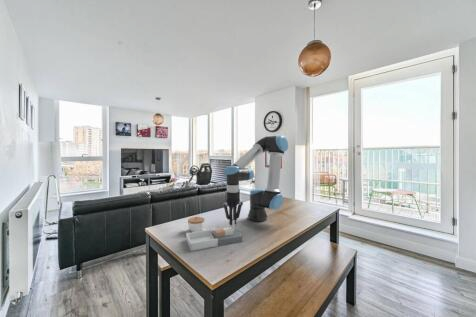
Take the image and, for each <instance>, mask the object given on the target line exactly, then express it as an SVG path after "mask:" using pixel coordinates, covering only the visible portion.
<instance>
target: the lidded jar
mask: <svg viewBox="0 0 476 317" xmlns="http://www.w3.org/2000/svg"><path fill="white" fill-rule="evenodd" d="M187 224H188V228H189V230H190V231H191V232H198V231H203V228H204V226H205V217H202V216H193V217H190V218H187Z"/></svg>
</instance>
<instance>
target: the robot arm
mask: <svg viewBox="0 0 476 317" xmlns="http://www.w3.org/2000/svg"><path fill="white" fill-rule="evenodd" d="M288 149H289V142H288V139H287V138H286V137H285V135H271V136H263V137H261V139H259V140H257V141H256V142H255V143H254V144H253V145H252V147H251V148H250V149H249V150H248V151H247V152H245V154H244V155H242V156H241V157H240V158H239V159H238V160H237V161H234V162H235V163H233V164H232V165H228V166H226V167H225V168H224V169H223V172H222V173H223V177H225V178H226V200H225V202H223V203H222V204H221V205H222V207H223V209H224V213H225V218H226V219H227V220H229V221H228V222H229V225H230V228H231V229H232V230H233V231H235V229H236V225H237V220H238V219H239V218H240V214H241V210H242V206H243V205H244V203H243V202H242V201H240V182H242V181H250V180H252V179H254V175H255V174H254V170H253V169H252V168H249V167H248V166H249V165H250V164H251V163H252V162H253V161H254V160H256V158H257V157H259V155H262V154H264V153H266V152H267V154H268V155H269V163H268V173H267V184H266V188H255V189H251V190H250V192H249V211H248V213H247V219H248V221H251V222H257V223H258V222H259V223H261V222H265V221H267V220H268V214H267V211H266V209H269V210H271V211H278V210H280V208H282V206H283V203H284V197H283V195H282V194H281V190H280V178H281V167H282V158H283V156H284V155H285V152H286V151H288ZM247 167H248V168H247Z"/></svg>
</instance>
